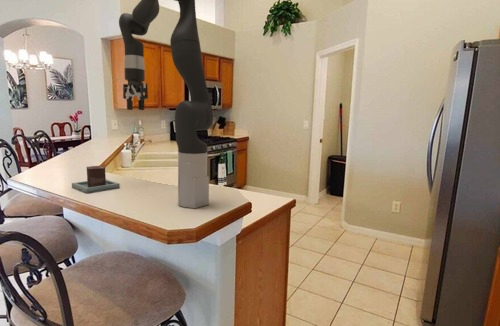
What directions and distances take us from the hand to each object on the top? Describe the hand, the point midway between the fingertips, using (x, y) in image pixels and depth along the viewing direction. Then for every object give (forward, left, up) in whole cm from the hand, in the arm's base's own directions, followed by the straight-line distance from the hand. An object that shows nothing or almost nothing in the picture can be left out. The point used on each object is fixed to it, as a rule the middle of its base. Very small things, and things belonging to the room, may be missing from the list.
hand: (135, 109), depth 127 cm
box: (+2, +16, -30) cm, 34 cm away
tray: (+2, +16, -30) cm, 34 cm away
